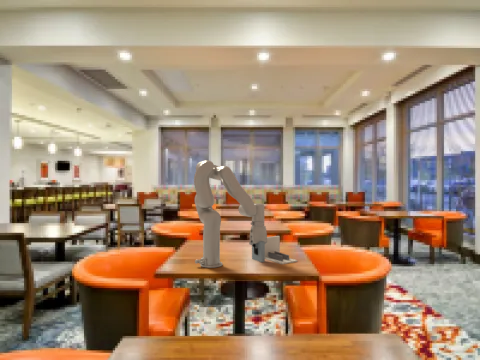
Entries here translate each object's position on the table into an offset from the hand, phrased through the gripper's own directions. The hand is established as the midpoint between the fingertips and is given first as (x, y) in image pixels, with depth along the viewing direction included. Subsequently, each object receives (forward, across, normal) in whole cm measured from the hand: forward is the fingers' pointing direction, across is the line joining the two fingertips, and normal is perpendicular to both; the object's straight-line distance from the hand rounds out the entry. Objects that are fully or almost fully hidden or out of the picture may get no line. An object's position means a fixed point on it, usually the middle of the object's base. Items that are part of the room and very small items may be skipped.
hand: (258, 253), depth 190 cm
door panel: (+4, 0, 0) cm, 4 cm away
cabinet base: (+4, +12, -6) cm, 14 cm away
